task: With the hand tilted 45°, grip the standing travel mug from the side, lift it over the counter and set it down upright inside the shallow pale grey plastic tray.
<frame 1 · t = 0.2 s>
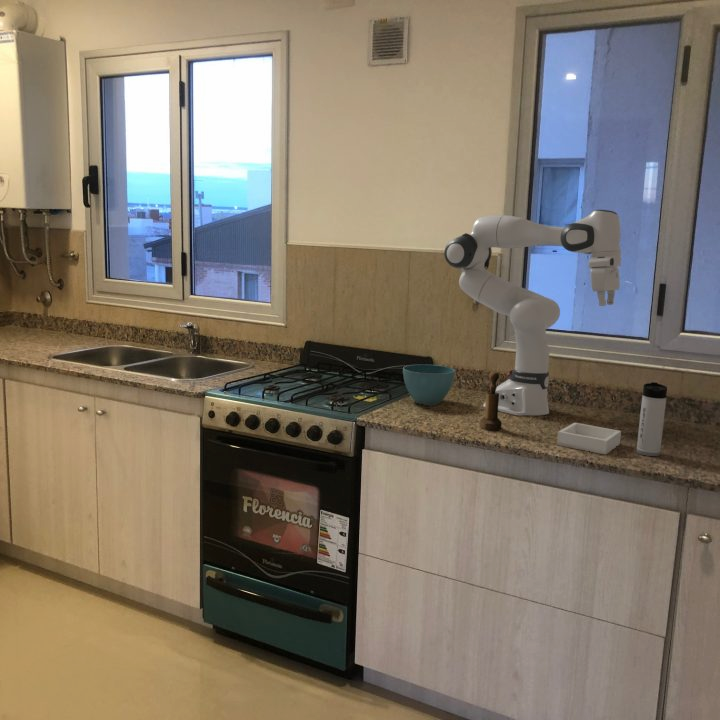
hand: (606, 305, 235), 39 cm above the worktop, tool pointing down, fingers open, 8 cm apart
travel mug: (647, 454, 210), on the worktop
teal bowl: (427, 403, 262), on the worktop
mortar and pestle: (490, 428, 231), on the worktop
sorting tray: (588, 444, 216), on the worktop
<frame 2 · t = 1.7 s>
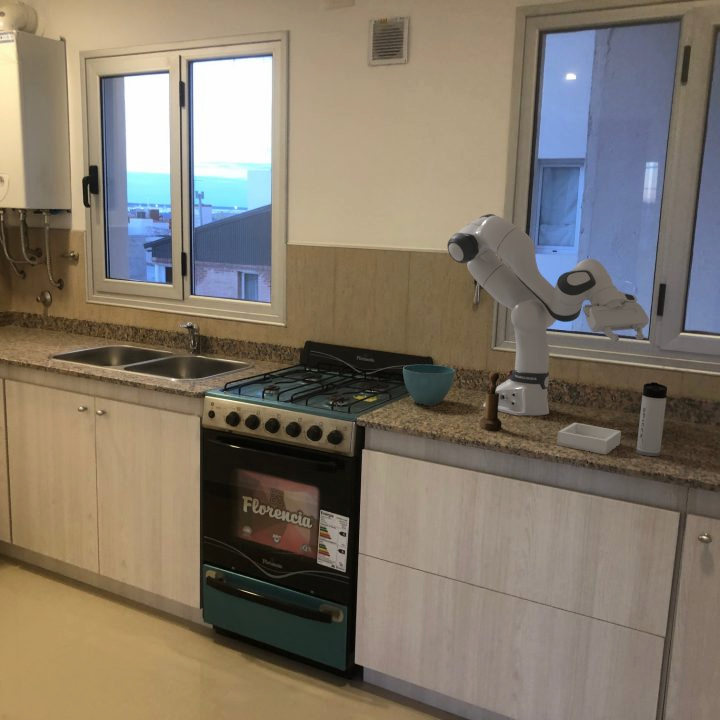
hand: (628, 339, 220), 30 cm above the worktop, tool tilted 45°, fingers open, 8 cm apart
nothing on the worktop moved.
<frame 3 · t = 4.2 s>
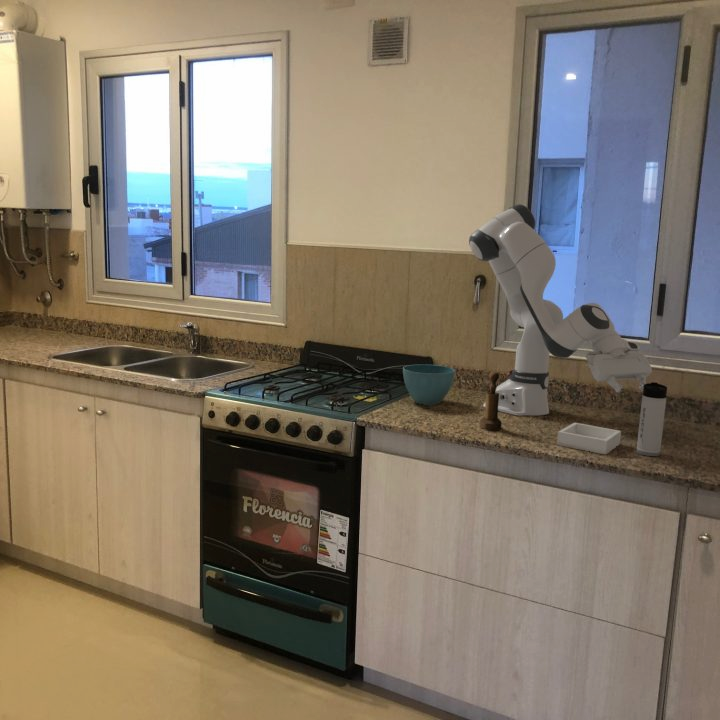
hand: (632, 390, 213), 17 cm above the worktop, tool tilted 45°, fingers open, 8 cm apart
nothing on the worktop moved.
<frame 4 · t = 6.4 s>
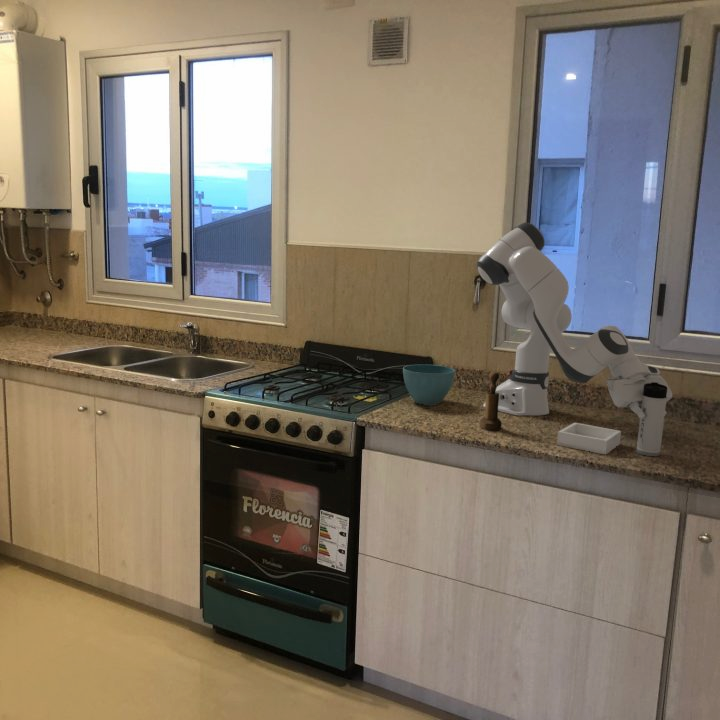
hand: (653, 416, 207), 11 cm above the worktop, tool tilted 45°, fingers closed on travel mug, 6 cm apart
travel mug: (647, 454, 210), on the worktop, touching gripper
everything else where it was.
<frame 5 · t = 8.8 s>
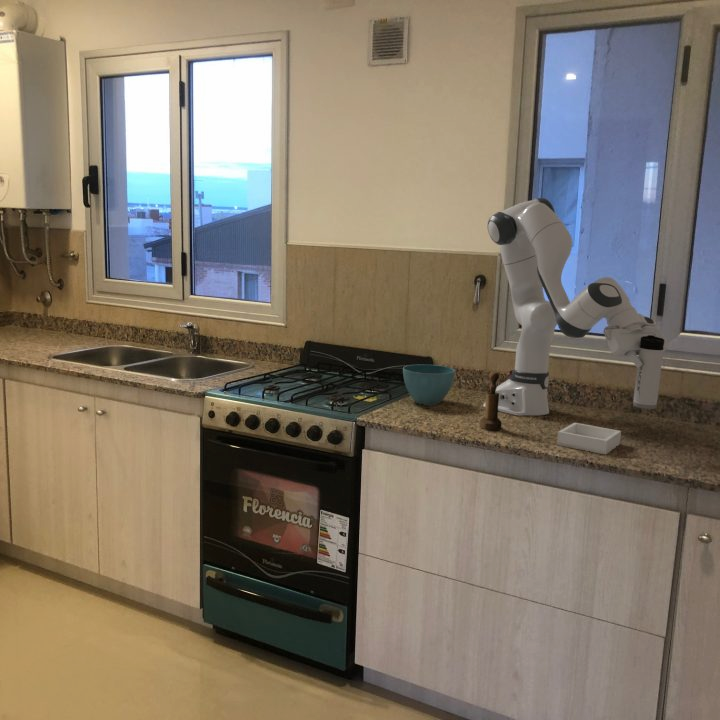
hand: (650, 365, 207), 25 cm above the worktop, tool tilted 45°, fingers closed on travel mug, 6 cm apart
travel mug: (644, 407, 210), point 13 cm above the worktop, touching gripper
everything else where it was.
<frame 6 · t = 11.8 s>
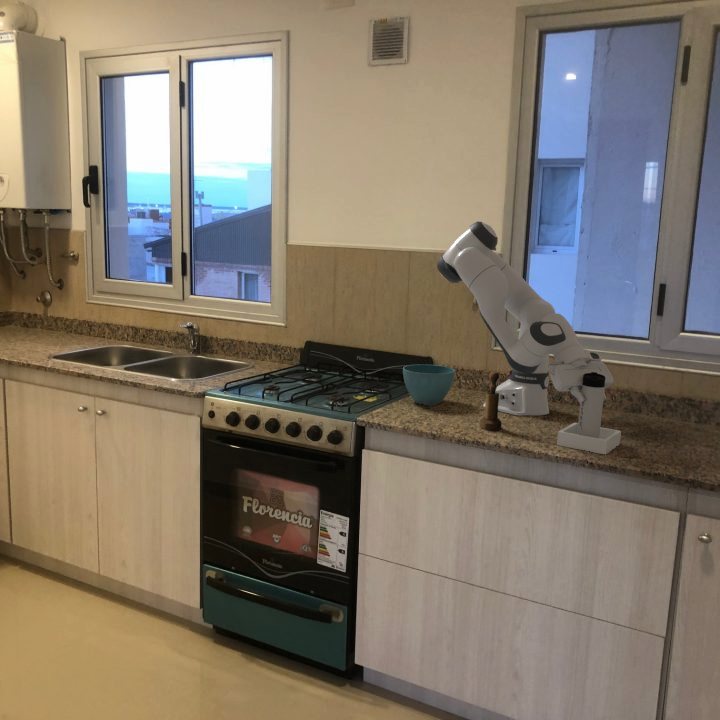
hand: (593, 400, 213), 13 cm above the worktop, tool tilted 45°, fingers closed on travel mug, 6 cm apart
travel mug: (587, 441, 216), point 1 cm above the worktop, touching gripper, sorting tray
everything else where it was.
when the fingers open (13 cm above the worktop, at t = 12.5 s): travel mug stays where it is, resting on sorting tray.
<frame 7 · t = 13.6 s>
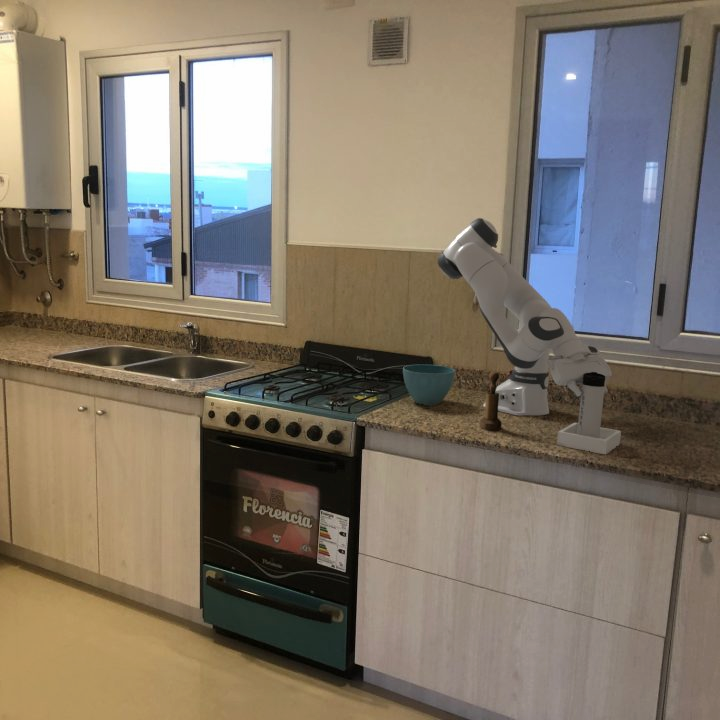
hand: (592, 394, 215), 15 cm above the worktop, tool tilted 45°, fingers open, 8 cm apart
travel mug: (587, 441, 216), point 1 cm above the worktop, touching gripper, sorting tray
everything else where it was.
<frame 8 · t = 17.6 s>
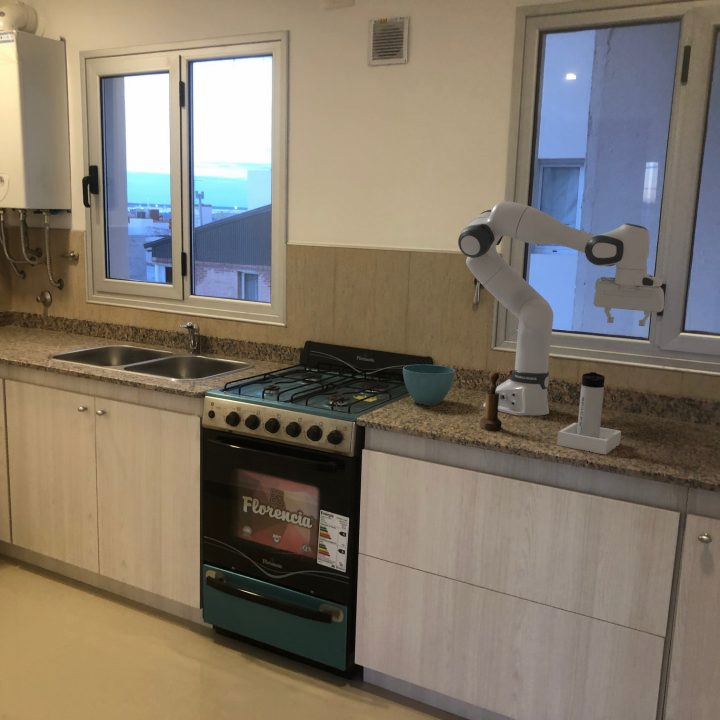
hand: (625, 324, 225), 34 cm above the worktop, tool pointing down, fingers open, 8 cm apart
travel mug: (587, 441, 216), point 1 cm above the worktop, touching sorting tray
everything else where it was.
at the end: travel mug inside the target area on the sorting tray (0.4 cm from its centre), point 0.8 cm above the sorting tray's base; travel mug tilted 0°; the gripper is holding nothing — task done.
